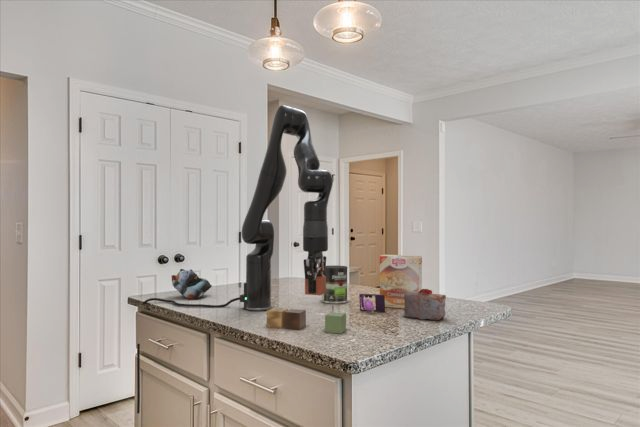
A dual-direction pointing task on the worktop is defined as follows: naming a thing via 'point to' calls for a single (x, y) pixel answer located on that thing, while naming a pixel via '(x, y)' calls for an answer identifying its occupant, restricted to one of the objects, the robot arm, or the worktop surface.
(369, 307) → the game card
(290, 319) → the walnut block
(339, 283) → the coffee can
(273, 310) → the maple block
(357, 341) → the worktop surface
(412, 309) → the food item
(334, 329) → the sage block
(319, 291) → the terracotta red block
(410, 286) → the coffeecake box
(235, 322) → the worktop surface
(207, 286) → the blue-grey lumpy piece
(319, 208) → the robot arm
